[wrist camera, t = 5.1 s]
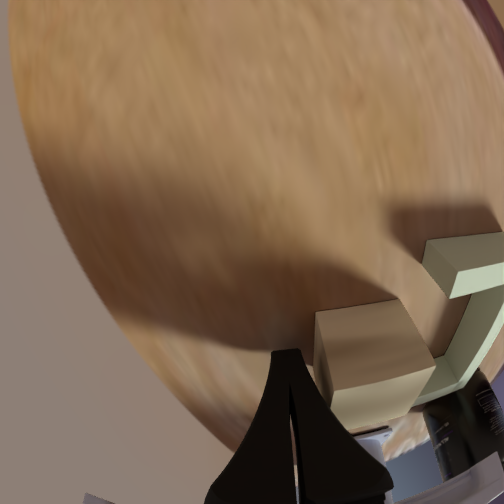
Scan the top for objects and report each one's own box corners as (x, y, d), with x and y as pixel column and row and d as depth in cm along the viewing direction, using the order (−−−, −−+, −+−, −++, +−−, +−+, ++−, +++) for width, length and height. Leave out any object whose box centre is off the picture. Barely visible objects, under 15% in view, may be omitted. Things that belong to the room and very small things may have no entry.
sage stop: (450, 361, 14) (463, 387, 12) (383, 382, 14) (393, 412, 12) (503, 231, 9) (532, 255, 7) (426, 239, 10) (457, 271, 7)
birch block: (383, 354, 13) (405, 414, 9) (313, 367, 13) (324, 434, 10) (399, 298, 11) (436, 365, 7) (315, 311, 11) (334, 390, 8)
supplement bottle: (412, 404, 17) (445, 525, 6) (479, 357, 14) (531, 473, 4) (428, 418, 19) (455, 512, 9) (483, 380, 17) (521, 472, 6)
